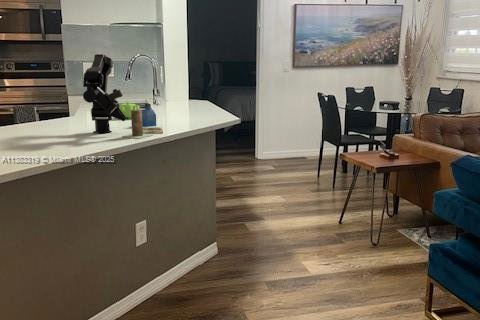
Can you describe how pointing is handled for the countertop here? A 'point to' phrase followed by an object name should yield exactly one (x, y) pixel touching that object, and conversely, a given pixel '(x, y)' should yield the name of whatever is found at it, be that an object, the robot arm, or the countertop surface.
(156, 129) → the trap frame
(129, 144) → the countertop surface
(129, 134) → the pad
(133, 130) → the walnut dowel
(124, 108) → the green cabbage
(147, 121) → the perfume bottle
